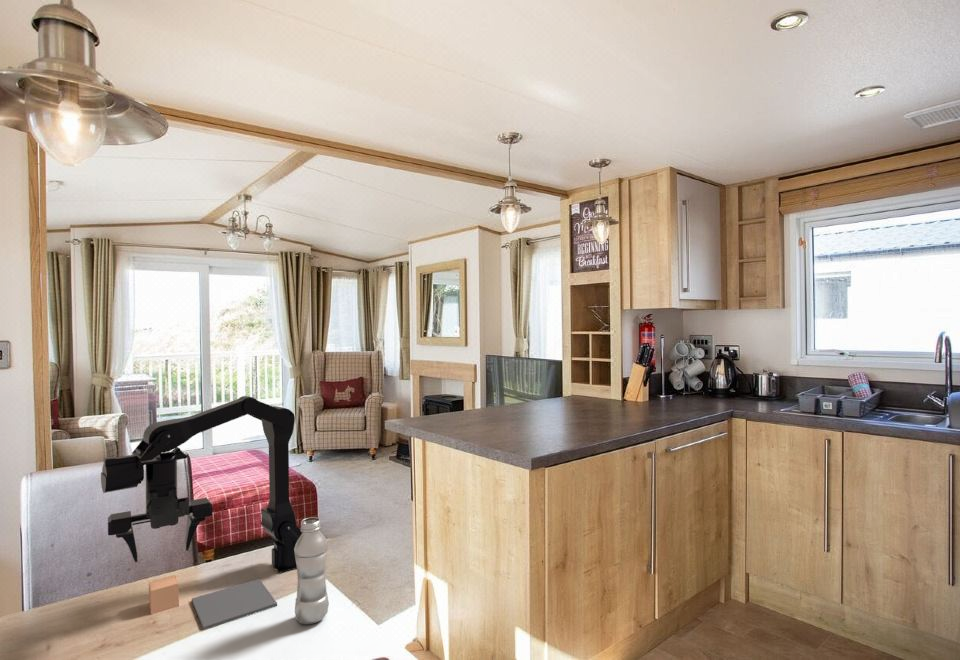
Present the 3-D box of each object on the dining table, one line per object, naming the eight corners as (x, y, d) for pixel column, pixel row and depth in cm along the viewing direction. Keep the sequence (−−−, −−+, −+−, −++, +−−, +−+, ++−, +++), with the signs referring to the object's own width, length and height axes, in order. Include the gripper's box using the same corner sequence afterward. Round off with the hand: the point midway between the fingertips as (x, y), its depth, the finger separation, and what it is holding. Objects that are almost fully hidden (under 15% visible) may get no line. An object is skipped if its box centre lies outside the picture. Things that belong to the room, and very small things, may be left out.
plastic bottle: (287, 624, 103) (285, 523, 103) (313, 607, 109) (311, 512, 109) (311, 632, 100) (309, 529, 100) (336, 614, 106) (334, 517, 106)
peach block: (175, 597, 115) (175, 574, 115) (178, 606, 111) (178, 583, 111) (149, 605, 112) (148, 581, 112) (151, 614, 108) (150, 590, 108)
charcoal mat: (259, 581, 121) (259, 578, 121) (277, 605, 110) (277, 603, 110) (191, 601, 113) (191, 598, 113) (203, 630, 102) (203, 626, 102)
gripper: (108, 500, 98) (108, 583, 98) (216, 483, 109) (217, 557, 109) (107, 487, 107) (108, 562, 107) (208, 472, 118) (208, 540, 118)
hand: (162, 555), depth 110 cm, fingers open, 9 cm apart
